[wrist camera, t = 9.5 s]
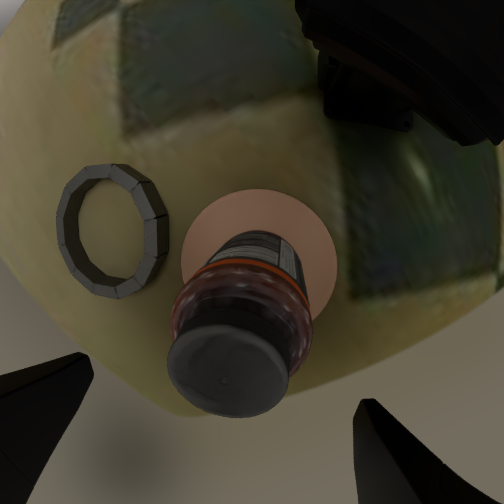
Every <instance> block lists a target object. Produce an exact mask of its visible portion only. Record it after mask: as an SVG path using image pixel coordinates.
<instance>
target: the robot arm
mask: <svg viewBox="0 0 504 504" xmlns="http://www.w3.org/2000/svg"><path fill="white" fill-rule="evenodd" d="M295 9H296V12H297V14H298V16H299V18H300V20H301V22H302V32H303V34H304V37H305V38H307V39H309V40H311V41H313V46H314V48H315V49H317V50H319V55H318V87H319V88H320V89H321V90H324V108H323V111H324V114H325V116H326V117H328V118H330V119H338V120H345V121H352V122H358V123H364V124H369V125H375V126H380V127H385V128H390V129H394V130H399V131H403V132H408V131H410V130H412V128H413V112H412V110H414V111H415V112H416V113H418V114H419V115H420V116H421V117H422V118H424V119H425V120H426V121H427V122H428V123H430V124H431V125H432V126H433V127H434V128H435V129H436V130H438V131H439V132H440V133H441V134H442V135H443V136H444V137H446V138H448V139H450V140H453V141H457V142H458V143H459V144H460V145H461V146H470V145H475V144H479V143H481V142H484V141H486V140H490V141H491V142H492V143H493V144H494V145H495V146H497V145H499V144H500V143H501V142H502V141H503V140H504V0H295ZM329 108H331V109H333V110H334V114H331V113H329V112H328V109H329ZM404 122H406V123H407V125H408V127H407V128H406V127H405V126H404ZM93 378H94V372H93V369H92V365H91V362H90V359H89V357H88V355H86V354H83V353H81V352H76V353H73V354H70V355H67V356H64V357H60V358H57V359H54V360H51V361H48V362H45V363H42V364H38V365H35V366H31V367H28V368H24V369H21V370H18V371H14V372H11V373H8V374H4V375H0V504H26V503H27V501H28V499H29V497H30V495H31V493H32V491H33V489H34V486H35V484H36V482H37V480H38V479H39V477H40V475H41V473H42V471H43V469H44V467H45V465H46V463H47V462H48V460H49V458H50V456H51V455H52V453H53V451H54V449H55V448H56V446H57V444H58V442H59V440H60V439H61V437H62V435H63V434H64V432H65V430H66V429H67V427H68V425H69V424H70V422H71V421H72V419H73V417H74V415H75V414H76V412H77V411H78V409H79V407H80V405H81V403H82V400H83V398H84V396H85V394H86V392H87V390H88V388H89V386H90V384H91V382H92V380H93ZM353 451H354V452H353V453H354V470H355V477H356V485H357V494H358V503H359V504H502V503H499V502H497V501H495V500H494V499H492V498H490V497H489V496H487V495H486V494H484V493H483V492H481V491H479V490H478V489H477V488H475V487H473V486H472V485H471V484H469V483H468V482H466V481H465V480H464V479H462V478H461V477H460V476H459V475H457V474H456V473H455V472H454V471H453V470H451V469H450V468H449V467H448V466H447V465H446V464H443V462H442V461H441V460H440V459H439V458H438V457H437V456H436V455H434V453H433V452H431V451H430V450H429V449H428V448H427V447H426V446H425V445H424V444H423V443H422V442H420V441H419V440H418V439H417V438H416V437H415V436H414V435H413V434H412V433H411V432H410V431H409V430H408V429H406V428H405V427H404V426H403V425H402V424H401V423H400V422H399V421H398V420H397V419H396V418H395V417H394V416H393V415H391V414H390V413H389V412H388V411H387V410H386V409H385V408H384V407H383V406H382V405H381V404H380V403H379V402H378V401H376V399H373V398H370V399H362V400H361V401H360V403H359V405H358V408H357V410H356V412H355V415H354V417H353Z"/></svg>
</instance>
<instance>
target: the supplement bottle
mask: <svg viewBox="0 0 504 504" xmlns="http://www.w3.org/2000/svg"><path fill="white" fill-rule="evenodd" d="M170 330H171V337H172V340H173V345H172V346H171V348H170V351H169V354H168V358H167V367H168V373H169V377H170V379H171V381H172V382H173V384H174V386H175V387H176V389H177V390H178V392H179V393H180V394H181V395H183V397H184V398H185V399H187V400H188V401H189V402H190V403H192V404H193V405H194V406H196V407H198V408H200V409H202V410H204V411H206V412H208V413H212V414H215V415H219V416H223V417H229V418H245V417H253V416H256V415H260V414H262V413H265V412H267V411H269V410H270V409H272V408H273V407H274V406H275V405H277V404H278V403H279V402H280V401H281V399H282V398H283V396H284V395H285V393H286V390H287V387H288V382H289V378H290V377H291V376H292V375H293V374H295V372H297V371H298V369H299V368H300V367H301V365H302V364H303V363H304V361H305V359H306V357H307V355H308V353H309V350H310V347H311V343H312V337H313V326H312V317H311V312H310V304H309V299H308V294H307V289H306V285H305V279H304V274H303V269H302V264H301V261H300V259H299V256H298V254H297V253H296V251H295V250H294V248H293V247H292V246H291V245H290V244H289V243H288V242H287V241H286V240H285V239H283V238H282V237H281V236H279V235H277V234H275V233H272V232H268V231H263V230H252V231H247V232H243V233H240V234H237V235H236V236H234V237H233V238H231V239H230V240H228V241H227V242H226V243H225V244H224V245H223V246H222V247H221V248H220V249H219V250H218V251H217V252H216V253H215V254H214V255H213V256H212V257H211V258H210V259H209V260H208V261H207V262H206V263H205V264H204V265H203V266H202V267H201V268H200V269H199V270H198V271H197V272H196V273H195V274H194V275H193V276H192V277H191V278H190V279H189V280H188V281H187V283H186V284H185V285H184V286H183V287H182V289H181V290H180V292H179V294H178V295H177V297H176V299H175V301H174V304H173V307H172V311H171V316H170Z"/></svg>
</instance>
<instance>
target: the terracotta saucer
mask: <svg viewBox="0 0 504 504" xmlns="http://www.w3.org/2000/svg"><path fill="white" fill-rule="evenodd" d="M252 230H263V231H268V232H272V233H275V234H277V235H279V236H281V237H282V238H283V239H285V240H286V241H287V242H288V243H289V244H290V245H291V246H292V247H293V248H294V250H295V251H296V253H297V254H298V256H299V259H300V261H301V264H302V269H303V274H304V279H305V285H306V289H307V294H308V299H309V304H310V312H311V317H312V321H313V320H314V319H315V318H316V317H317V316H318V315H319V314H320V313H321V311H322V310H323V309H324V307H325V306H326V304H327V303H328V301H329V299H330V297H331V295H332V292H333V290H334V287H335V282H336V278H337V256H336V251H335V246H334V243H333V241H332V238H331V236H330V234H329V232H328V230H327V228H326V227H325V225H324V224H323V222H322V221H321V219H320V218H319V217H318V216H317V215H316V214H315V213H314V212H313V211H312V210H311V209H310V208H309V207H308V206H306V205H305V204H304V203H302V202H301V201H299V200H297V199H296V198H294V197H292V196H289V195H287V194H285V193H281V192H278V191H274V190H267V189H249V190H242V191H238V192H234V193H231V194H228V195H226V196H223V197H221V198H219V199H218V200H216V201H214V202H213V203H211V204H210V205H209V206H207V207H206V208H205V209H204V210H203V211H202V212H201V213H200V214H199V215H198V216H197V217H196V219H195V220H194V222H193V223H192V225H191V226H190V228H189V230H188V232H187V234H186V237H185V240H184V243H183V247H182V253H181V271H182V277H183V281H184V284H186V283H187V281H188V280H189V279H190V278H191V277H192V276H193V275H194V274H195V273H196V272H197V271H198V270H199V269H200V268H201V267H202V266H203V265H204V264H205V263H206V262H207V261H208V260H209V259H210V258H211V257H212V256H213V255H214V254H215V253H216V252H217V251H218V250H219V249H220V248H221V247H222V246H223V245H224V244H225V243H226V242H227V241H228V240H230V239H231V238H233V237H234V236H236V235H237V234H240V233H243V232H247V231H252Z"/></svg>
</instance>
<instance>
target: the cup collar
mask: <svg viewBox="0 0 504 504" xmlns="http://www.w3.org/2000/svg"><path fill="white" fill-rule="evenodd" d="M102 178H111V179H112V180H113V181H115V182H116V183H118V184H119V185H120V186H122V187H123V188H125V189H126V190H127V191H129V192H130V193H131V195H132V197H133V199H134V201H135V204H136V206H137V208H138V210H139V212H140V214H141V216H142V218H143V220H144V243H145V254H144V256H143V258H142V260H141V262H140V264H139V266H138V269H137V271H136V273H135V275H134V276H132V277H130V278H128V279H123V278H117V277H111V276H106V275H105V274H104V273H103V272H102V271H100V270H99V269H98V268H97V267H96V266H95V265H93V264H92V263H91V262H90V261H89V259H88V257H87V255H86V253H85V251H84V249H83V246H82V244H81V242H80V240H79V229H78V212H79V209H80V207H81V204H82V201H83V199H84V196H85V193H86V192H87V191H88V190H89V189H90V188H91V187H93V186H94V185H95V184H96V183H97V182H98V181H100V180H101V179H102ZM167 213H168V212H167V210H166V208H165V206H164V204H163V202H162V200H161V198H160V196H159V194H158V192H157V190H156V187H155V185H154V183H151V180H150V179H148V178H147V177H145V176H144V175H142V174H141V173H139V172H138V171H136V170H135V169H133V168H132V167H130V166H129V165H126V164H103V165H93V166H86V167H84V168H83V169H82V170H81V171H80V172H79V173H78V174H77V175H76V176H74V177H73V178H72V179H71V180H70V181H69V182H68V183H67V184H66V187H65V188H64V190H63V193H62V196H61V199H60V203H59V206H58V209H57V212H56V214H57V216H56V227H57V239H58V245H59V246H60V247H59V249H60V252H61V254H62V256H63V258H64V260H65V262H66V265H67V267H68V269H69V271H70V273H71V274H72V273H73V274H72V276H73V277H74V278H75V279H77V280H78V281H79V282H80V283H81V284H82V285H83V286H84V287H85V288H87V289H88V290H89V291H90V292H91V293H94V294H95V295H99V296H104V297H108V298H113V299H121V298H123V297H125V296H127V295H129V294H131V293H133V292H135V291H137V290H139V289H141V288H143V287H144V286H145V285H146V284H148V283H149V282H150V281H152V280H153V279H154V278H155V276H156V274H157V272H158V270H159V269H160V267H161V265H162V263H163V261H164V259H165V257H166V255H167V253H168V251H167V250H169V215H166V214H167Z"/></svg>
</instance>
